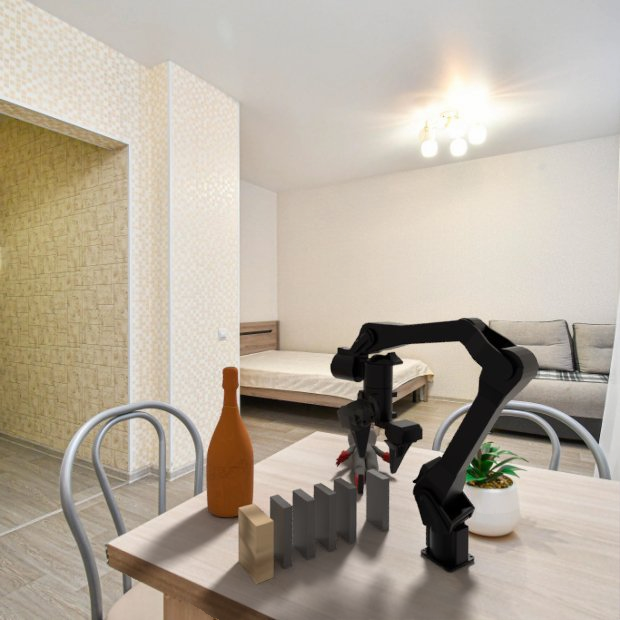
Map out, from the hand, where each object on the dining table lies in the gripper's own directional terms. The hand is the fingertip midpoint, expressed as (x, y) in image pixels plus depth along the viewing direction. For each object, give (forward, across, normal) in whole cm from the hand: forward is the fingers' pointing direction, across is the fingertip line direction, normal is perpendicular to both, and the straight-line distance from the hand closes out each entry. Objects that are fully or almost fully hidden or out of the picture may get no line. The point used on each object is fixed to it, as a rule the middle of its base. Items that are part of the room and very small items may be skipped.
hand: (376, 465), depth 83 cm
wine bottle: (+12, -21, -22) cm, 33 cm away
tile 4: (+12, 0, -17) cm, 21 cm away
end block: (+12, 0, -26) cm, 29 cm away
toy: (+12, -23, +16) cm, 30 cm away
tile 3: (+12, 0, -12) cm, 17 cm away
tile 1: (+12, 0, 0) cm, 12 cm away
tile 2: (+12, 0, -8) cm, 14 cm away
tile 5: (+12, 0, -21) cm, 24 cm away
